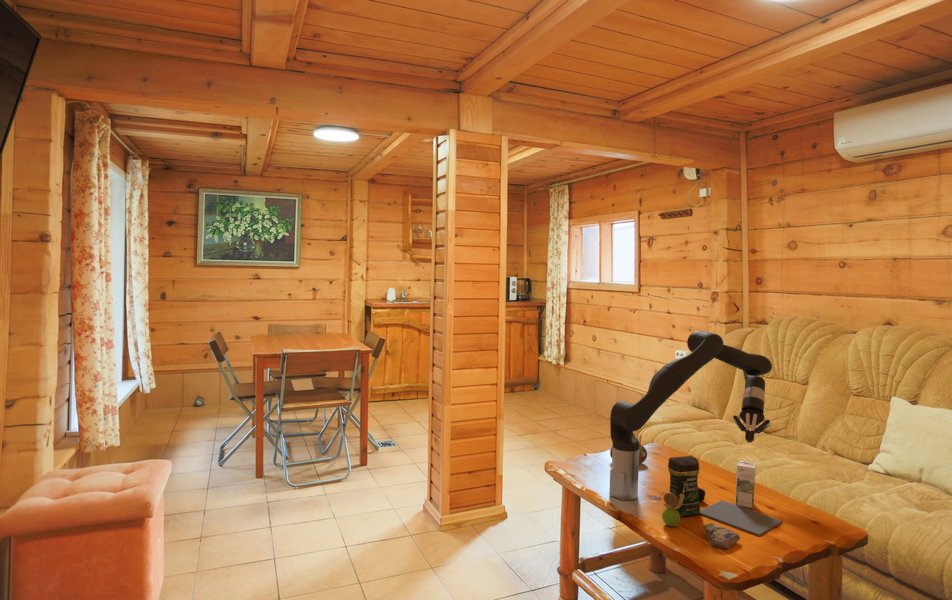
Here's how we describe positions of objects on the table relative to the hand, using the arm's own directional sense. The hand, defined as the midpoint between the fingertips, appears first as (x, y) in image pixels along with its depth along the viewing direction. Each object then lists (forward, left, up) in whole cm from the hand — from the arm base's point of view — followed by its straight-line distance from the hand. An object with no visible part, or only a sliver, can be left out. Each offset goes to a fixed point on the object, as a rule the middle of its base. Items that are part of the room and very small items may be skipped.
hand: (749, 441), depth 205 cm
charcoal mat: (-25, -9, -19) cm, 32 cm away
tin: (-10, +45, -19) cm, 50 cm away
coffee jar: (-35, +4, -19) cm, 40 cm away
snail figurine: (-48, +1, -19) cm, 51 cm away
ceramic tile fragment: (-44, -13, -19) cm, 50 cm away
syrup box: (-13, -5, -19) cm, 23 cm away
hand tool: (-17, +15, -19) cm, 30 cm away
